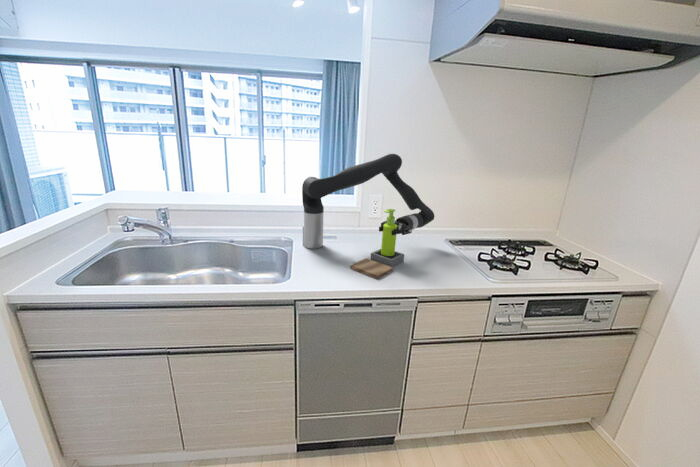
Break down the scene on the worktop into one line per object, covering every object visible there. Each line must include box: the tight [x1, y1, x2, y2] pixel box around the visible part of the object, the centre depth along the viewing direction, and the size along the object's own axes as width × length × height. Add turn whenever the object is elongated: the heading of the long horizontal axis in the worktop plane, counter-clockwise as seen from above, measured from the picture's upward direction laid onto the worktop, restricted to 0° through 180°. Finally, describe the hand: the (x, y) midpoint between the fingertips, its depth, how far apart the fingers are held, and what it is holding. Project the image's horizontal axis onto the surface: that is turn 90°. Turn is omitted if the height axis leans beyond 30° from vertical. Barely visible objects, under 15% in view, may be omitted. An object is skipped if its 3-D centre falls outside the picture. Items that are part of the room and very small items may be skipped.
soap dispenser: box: [380, 208, 397, 256], centre depth 136 cm, size 6×7×20 cm
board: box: [349, 257, 394, 280], centre depth 132 cm, size 14×11×2 cm
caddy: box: [369, 248, 405, 269], centre depth 140 cm, size 11×10×4 cm
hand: (386, 231), depth 134 cm, fingers closed on soap dispenser, 6 cm apart
